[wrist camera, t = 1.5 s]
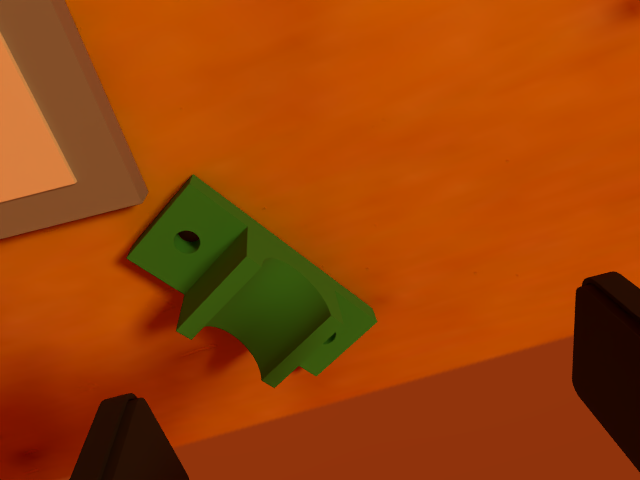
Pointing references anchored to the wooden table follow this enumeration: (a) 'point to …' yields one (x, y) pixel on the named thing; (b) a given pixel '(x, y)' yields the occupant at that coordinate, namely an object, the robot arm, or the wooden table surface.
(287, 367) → the pipe clamp
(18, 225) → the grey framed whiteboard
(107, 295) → the wooden table surface
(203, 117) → the wooden table surface
